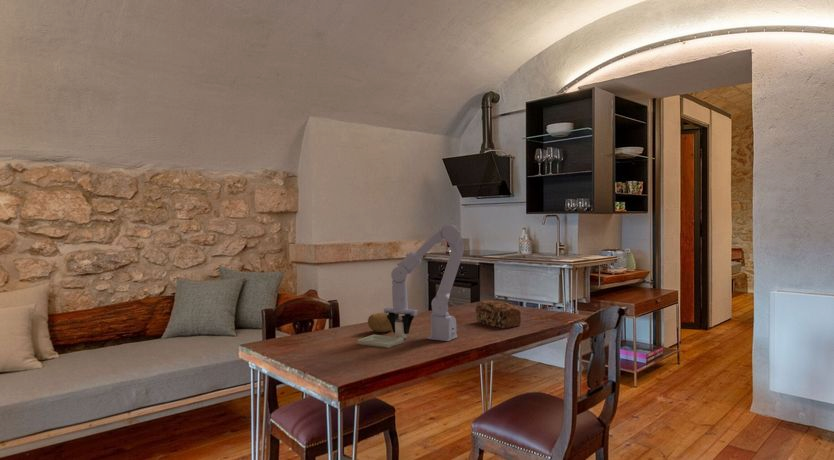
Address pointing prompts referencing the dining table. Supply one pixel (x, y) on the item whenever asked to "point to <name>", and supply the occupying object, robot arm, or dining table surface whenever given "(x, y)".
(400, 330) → the shaker
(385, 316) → the potato
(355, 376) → the dining table surface
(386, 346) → the tray
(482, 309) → the bread
